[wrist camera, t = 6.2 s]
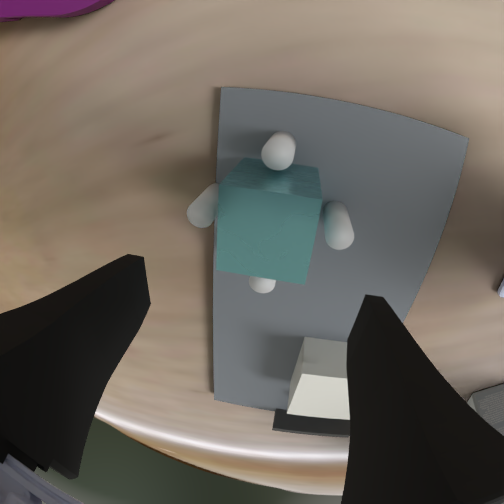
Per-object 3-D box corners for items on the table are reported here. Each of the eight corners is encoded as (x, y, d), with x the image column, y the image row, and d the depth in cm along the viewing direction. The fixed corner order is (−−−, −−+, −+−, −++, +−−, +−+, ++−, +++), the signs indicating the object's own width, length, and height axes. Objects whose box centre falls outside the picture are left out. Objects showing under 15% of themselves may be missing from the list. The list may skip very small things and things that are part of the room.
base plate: (469, 138, 13) (503, 153, 10) (347, 412, 28) (347, 442, 24) (214, 86, 14) (189, 86, 11) (210, 392, 29) (201, 421, 26)
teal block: (318, 167, 15) (322, 199, 11) (306, 233, 17) (304, 284, 13) (244, 157, 16) (218, 184, 11) (239, 223, 18) (216, 269, 13)
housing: (389, 346, 21) (396, 381, 18) (364, 388, 24) (366, 420, 21) (304, 336, 21) (302, 373, 18) (290, 380, 25) (286, 413, 22)
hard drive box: (477, 432, 29) (489, 536, 12) (436, 443, 31) (443, 554, 14) (518, 376, 22) (551, 511, 5) (471, 391, 24) (495, 543, 7)
